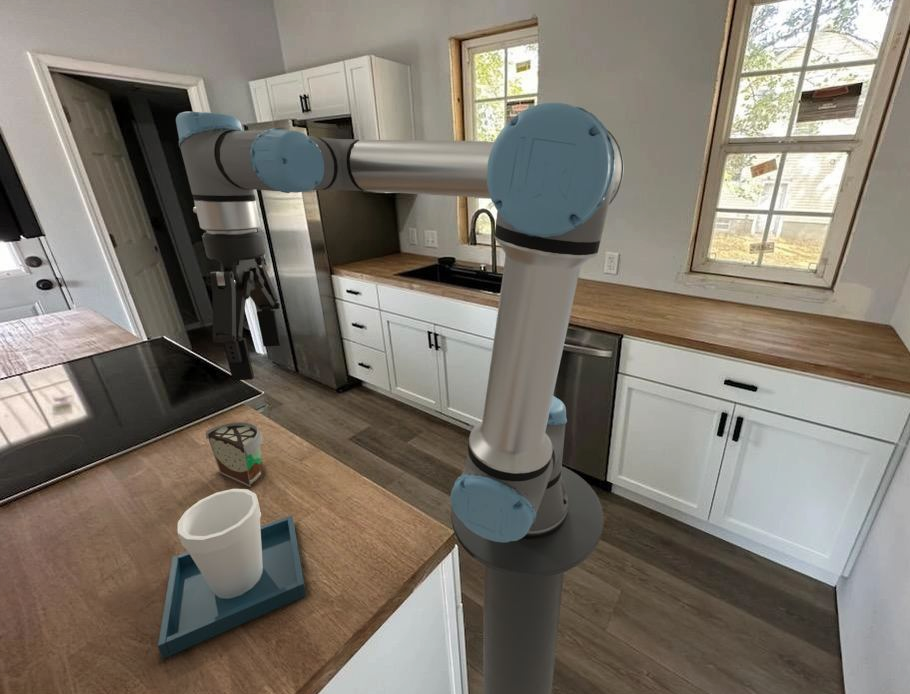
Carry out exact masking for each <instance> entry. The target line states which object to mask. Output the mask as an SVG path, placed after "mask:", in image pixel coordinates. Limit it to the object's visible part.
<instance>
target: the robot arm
mask: <svg viewBox="0 0 910 694" xmlns="http://www.w3.org/2000/svg"><path fill="white" fill-rule="evenodd" d="M175 124H176V129H177V135H178V147H179V149H180V152H181V156H182V159H183V160H182V161H183V164H184V167H185V168H184V169H185V172H186V176H187V180H188V184H189V188H190V192H191V195H192V198H193V202H194V207H193V209H192V211H193V213H195V214H196V216H197V220H198V223H199V228H200V229H202V230H203V231H205V232H204V233H203V234H202V235H201V238H202V243H203V247H204V250H205V251H204V252H205V254H206V257H207V259H210V260H211V261H217V262H219V263H220V271H211V272H210V273H209V276H210V283H211V288H212V291H211V292H212V293H211V295H212V341H213V343H222V344H223V347H224V351H225V355H226V359H227V364H228V368H229V371H230V375H231V380H232V382H236V381H252V380H254V378H255V374H254V369H253V364H252V360H251V356H250V352H249V347H248V343H247V338H246V337H243V331H244V320H245V310H246V302H247V300H249V299H251V300H252V302H253V303H254V304H255V306H256V307H257V309H258V311H256V316H257V321H258V322H257V323H258V326H259V331H260V336H261V341H262V345H263V347H280V346H281V345H282V342H281V337H280V330H279V326H278V321H277V314H276V310H280V309H281V305H280V302H279V298H278V295H277V293H276V291H275V288H274V285H273V283H272V281H271V278H270V276H269V273H268V271H267V268H266V264H265V260H264V257H263V256H265V254H266V249H265V244H264V239H263V233H261V232H260V230H258V229H259V228H260V227H262V226H261V225H262V224H261V220H260V216H259V211H258V210H259V209H258V205H257V200H256V195H255V192H254V190H255V191H256V190H257V191H268V192H269V191H270V192H281V193H283V194H284V193H285V194H290V193H293V194H294V193H306V192H311V191H354V192H355V191H356V192H379V193H395V194H410V195H411V194H412V195H427V196H443V197H445V196H447V197H459V198H475V199H476V198H478V199H490V200H491V202H492V204H493V205H494V208H495V209H496V220H495V229H494V235H493V236H494V240H495V241H496V243H497V244H498V245H499V247H500V248H501V249H502V251H503V252H504V255H505V257H504V263H503V271H502V279H501V286H500V293H499V299H498V300H499V301H498V306H497V314H496V322H495V328H494V329H495V330H494V336H493V342H492V343H493V344H492V350H491V351H492V352H491V358H490V365H489V372H488V379H487V385H486V386H487V387H486V392H485V393H486V394H485V400H484V409H483V416H482V421H480V422H478V423H477V424H476V425H475V426H474V427H473V428H472V429H471V431H470V433H469V437H468V442H467V443H468V445H467V450H466V451H467V452H466V459H465V465H464V468H463V471H462V473H461V474H460V476H458V477H457V478H456V480H454V483H453V487H452V489H451V491H450V505H451V506H452V507H453V510H454V512H455V514H456V515H457V517H458V518H459V519H460V520H461V521H462V522H463V523H464V525H465V526H466V527H467V528H469V529H470V530H471V531H473V532H474V533H476V534H477V535H479V536H481V537H483V538H486V539H488V540H492V541H496V542H510V541H517V540H519V539H521V538H526V539H533V538H541V537H544V536H547V535H550V534H552V533H554V532H555V531H557V530H558V529H559V528H560V527H561V526H562V525H563V523H564V522H565V520H566V517H567V513H568V498H567V494H566V490H565V487H564V484H563V480H562V477H561V468H562V466H563V456H564V445H565V433H566V424H567V423H568V419H567V408H566V405H565V403H564V402H563V401H562V400H561V399H559V398H558V397H556V396H554V395H555V394H554V392H555V388H556V384H557V380H558V374H559V370H560V365H561V361H562V357H563V351H564V346H565V342H566V337H567V333H568V329H569V328H568V327H569V323H570V318H571V314H572V308H573V305H574V299H575V295H576V290H577V287H578V286H577V285H578V281H579V276H580V271H581V268H582V267H583V265H584V264H586V263H587V262H589V261H591V260H592V259H593V258H595V257H597V256H598V254H599V249H600V245H601V242H602V241H601V240H602V238H603V232H604V228H605V223H606V219H607V216H608V210H609V206H610V205H611V204H612V202H613V201H614V200H615V199H616V197H617V195H618V193H619V191H620V189H621V186H622V183H623V178H624V175H625V174H624V172H625V164H624V163H625V162H624V157H623V156H624V155H623V153H622V149H621V146H620V145H619V143H618V141H617V138H616V137H615V136H614V135H613V133H611V132H610V131H609V130H608V129H607V127H606V126H605V125H604V124H603V123H602V121H601V120H600V119H598V118H597V116H596V115H594V114H593V113H592V112H590V111H588V110H586V109H585V108H583V107H580V106H574V105H571V104H568V103H563V102H543V103H539V104H535V105H533V106H530V107H527V108H526V109H524V110H522V111H520V112H519V113H518V114H516V115H515V116H514V117H512V118H511V119H510V120H509V121H508V122H507V123H506V124H505V125H504V126H503V128H502V129H501V130H500V132H499V133H498V135H497V136H496V138H495V140H436V139H435V140H433V139H432V140H428V139H423V140H421V139H420V140H419V139H357V138H356V139H355V138H354V139H353V138H352V139H346V138H329V137H322V136H321V137H320V136H319V137H318V136H315V135H307V134H305V133H304V132H301V131H298V130H291V129H282V128H279V127H277V128H270V129H251V130H250V129H247V130H244V129H243V126H242V123H241V121H240V120H239V118H238V117H236V116H233V115H230V114H224V113H219V112H218V113H217V112H209V111H208V112H207V111H182V112H179V113H178V114H177V116H176V117H175Z"/></svg>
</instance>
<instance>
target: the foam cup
mask: <svg viewBox="0 0 910 694" xmlns="http://www.w3.org/2000/svg"><path fill="white" fill-rule="evenodd" d="M261 517H262V513H261V508H260V504H259V500H258V495H257V494H256V493H255V492H254V491H251V490H249V489H248V488H230V489H226V490H221V491H217V492H215V493H212V494H211V495H207V496H206V497H204V498H202V499H200V500H198V501H197V502H195V504H193V505H192V506H191V507H189V508H188V509H186V510H185V511H184V513H183V514H182V516H181V517H180V518H179V520H178V521H177V536H178V538H179V541H180V544H181V546H182V547H183V548H184V549H186V552H189V554H190V556H191V557H192V559H193V560H194V562H195V564H196V565H197V567H198V568H199V570H200V572H201V573H202V575H203V577H204V578H205V580H206V581H207V583H208V585H209V586H210V588H211V589H212V591H213V592H214V594H215V595H217V596H218V597H219V598H227V599H230V598H233V597H237V596H240V595H242V594H244V593H245V592H247V591H248V590H250V589H251V588H252V587H253V586H254V585H255V584H256V583H257V582H258V581H259V580H260V577H261V575H262V572H263V570H262V569H263V564H262V546H261V529H260V526H261Z"/></svg>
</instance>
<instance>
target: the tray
mask: <svg viewBox="0 0 910 694" xmlns="http://www.w3.org/2000/svg"><path fill="white" fill-rule="evenodd" d="M260 529H261V546H262V564H263V569H262V570H263V572H262V575H261V577H260V580H259V581H258V582H257V583H256V584H255V585H254V586H253V587H252V588H251V589H250V590H248V591H247V592H245V593H244V594H242V595H240V596H237V597H233V598H230V599H227V598H219V597H218V596H217V595H215V594H214V592H213V591H212V589H211V588H210V586H209V585H208V583H207V581H206V580H205V578H204V577H203V575H202V573H201V572H200V570H199V568H198V567H197V565H196V564H195V562H194V560H193V559H192V557H191V556H190V554H189V552H188V551H185V552H182V553H179V554H177V555H174V556H172V557H171V562H170V568H169V575H168V579H167V580H168V581H167V587H166V591H165V592H166V593H165V598H164V605H163V611H162V617H161V623H160V629H159V635H158V640H157V641H158V642H157V648H158V651H159V653H160V655H161V659H162V660H164V659H167V658H168V657H172V656H174V655H176V654H178V653H180V652H182V651H185V650H187V649H189V648H192V647H193V646H195V645H198V644H201V643H203V642H205V641H207V640H209V639H211V638H214V637H216V636H218V635H221V634H224V633H226V632H227V631H229V630H232V629H234V628H236V627H238V626H242V625H243V624H245V623H248V622H250V621H253V620H254V619H256V618H259V617H261V616H264V615H266V614H268V613H270V612H273V611H275V610H277V609H280V608H282V607H285V606H286V605H289V604H290V603H293V602H295V601H298V600H300V599H302V598H304V597H306V596H307V593H306V587H305V581H304V575H303V568H302V563H301V556H300V550H299V543H298V538H297V537H298V536H297V532H296V527H295V521H294V516H293V514H291V515H289V516H285V517H282V518H279V519H276V520H274V521H271V522H268V523H266V524H262V525H260Z"/></svg>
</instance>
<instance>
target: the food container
mask: <svg viewBox="0 0 910 694" xmlns="http://www.w3.org/2000/svg"><path fill="white" fill-rule="evenodd" d="M205 438H206V440H208V442H209V445H210V448H211V451H212V455H213V456H214V459H215V462H216V465H217V468H218V470H219V471H218V472H219V474H221V475H223V476H225V477H228V478H230V479H231V480H234V481H236V482H238V483H241V484H244V485H245V486H247V487H250V488H252V487H253V486H254V485H256V484H257V483H258V482H259V481H260V480H261V479H262V476H263V475H264V469H263V462H262V461H263V460H262V453H261V452H262V451H261V445H262V443H263V440H264V437H263V435H262V433H261V430H260V429H259V428H258V427H257V426H256V425H255V424H253V423H251V422H244V421H235V422H229V423H223V424H220V425H216V426H214V427H211V428H209V429H206V430H205Z"/></svg>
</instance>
